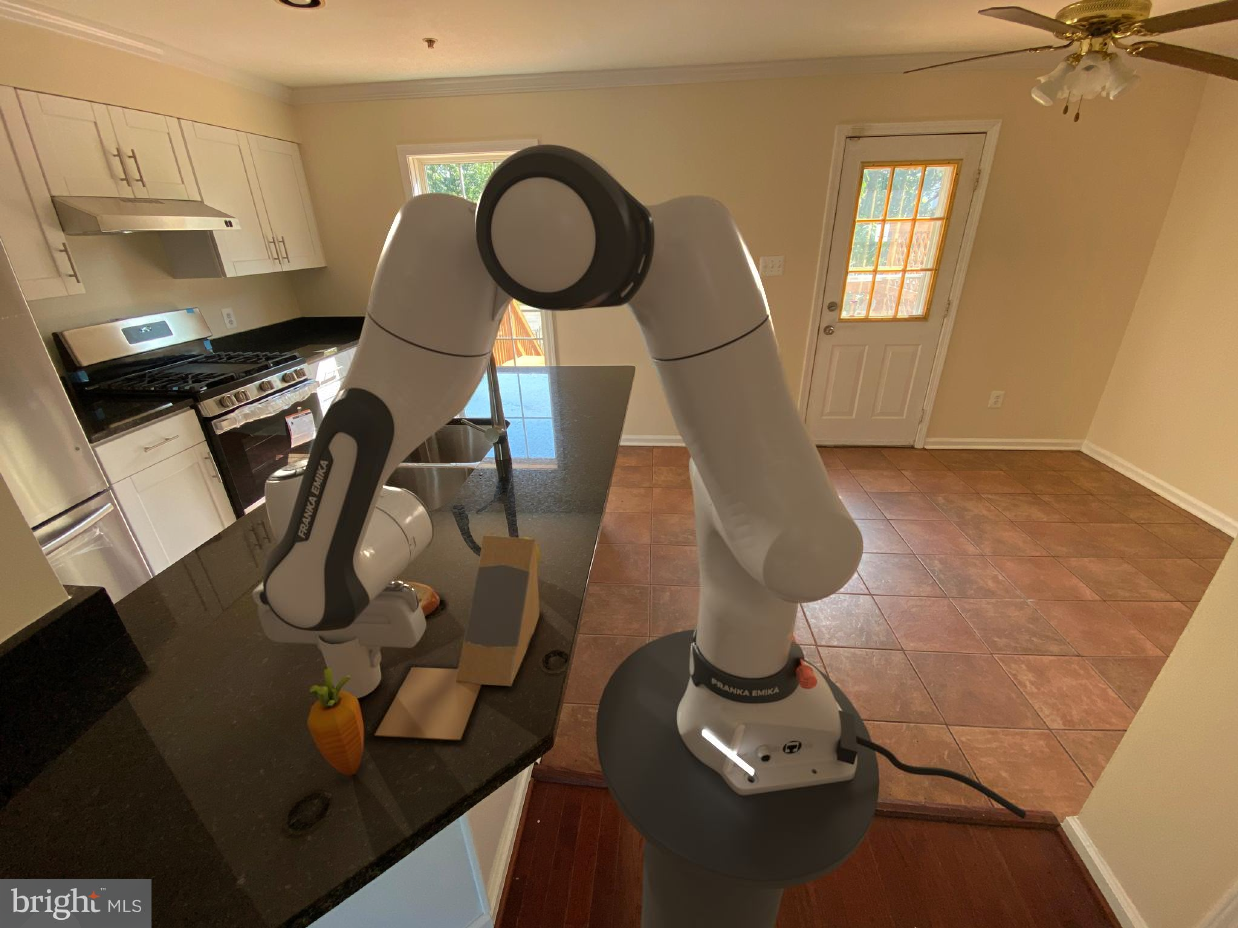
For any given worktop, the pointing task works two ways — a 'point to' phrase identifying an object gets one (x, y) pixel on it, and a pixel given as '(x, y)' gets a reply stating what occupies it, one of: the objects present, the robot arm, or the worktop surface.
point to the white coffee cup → (351, 666)
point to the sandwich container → (500, 611)
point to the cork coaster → (430, 706)
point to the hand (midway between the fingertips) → (357, 663)
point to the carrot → (337, 725)
